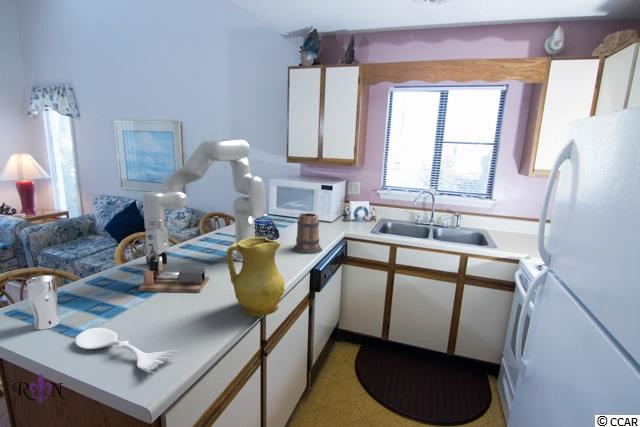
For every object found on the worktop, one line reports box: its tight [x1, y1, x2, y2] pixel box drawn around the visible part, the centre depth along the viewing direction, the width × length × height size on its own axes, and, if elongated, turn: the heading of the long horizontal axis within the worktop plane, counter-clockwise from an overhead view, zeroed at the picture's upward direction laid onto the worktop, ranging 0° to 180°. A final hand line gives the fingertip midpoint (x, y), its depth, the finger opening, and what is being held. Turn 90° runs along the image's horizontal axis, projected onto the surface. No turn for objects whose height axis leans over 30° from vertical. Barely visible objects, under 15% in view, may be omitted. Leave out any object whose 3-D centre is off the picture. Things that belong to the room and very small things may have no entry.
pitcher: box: [226, 236, 285, 318], centre depth 114 cm, size 17×19×25 cm
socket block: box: [143, 267, 157, 284], centre depth 130 cm, size 4×5×5 cm
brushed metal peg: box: [153, 256, 180, 280], centre depth 130 cm, size 15×3×10 cm, turn 92°
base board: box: [138, 276, 210, 293], centre depth 132 cm, size 23×12×2 cm, turn 92°
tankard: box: [292, 212, 323, 255], centre depth 185 cm, size 24×17×20 cm
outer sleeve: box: [179, 267, 206, 285], centre depth 131 cm, size 8×5×5 cm, turn 92°
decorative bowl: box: [254, 213, 280, 241], centre depth 205 cm, size 20×20×14 cm
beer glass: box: [25, 274, 61, 331], centre depth 100 cm, size 7×7×15 cm
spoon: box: [74, 327, 178, 373], centre depth 89 cm, size 9×32×4 cm, turn 67°
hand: (158, 266), depth 130 cm, fingers open, 7 cm apart
